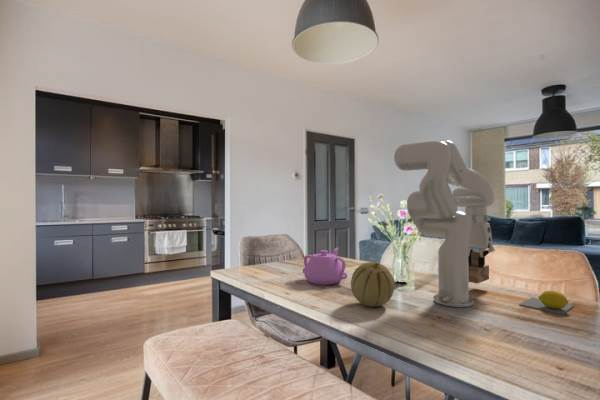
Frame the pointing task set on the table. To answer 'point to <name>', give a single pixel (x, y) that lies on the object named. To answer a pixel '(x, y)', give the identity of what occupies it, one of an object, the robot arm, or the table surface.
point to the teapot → (324, 268)
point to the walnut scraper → (477, 269)
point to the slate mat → (539, 305)
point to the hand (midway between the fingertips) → (476, 265)
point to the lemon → (553, 299)
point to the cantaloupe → (372, 284)
